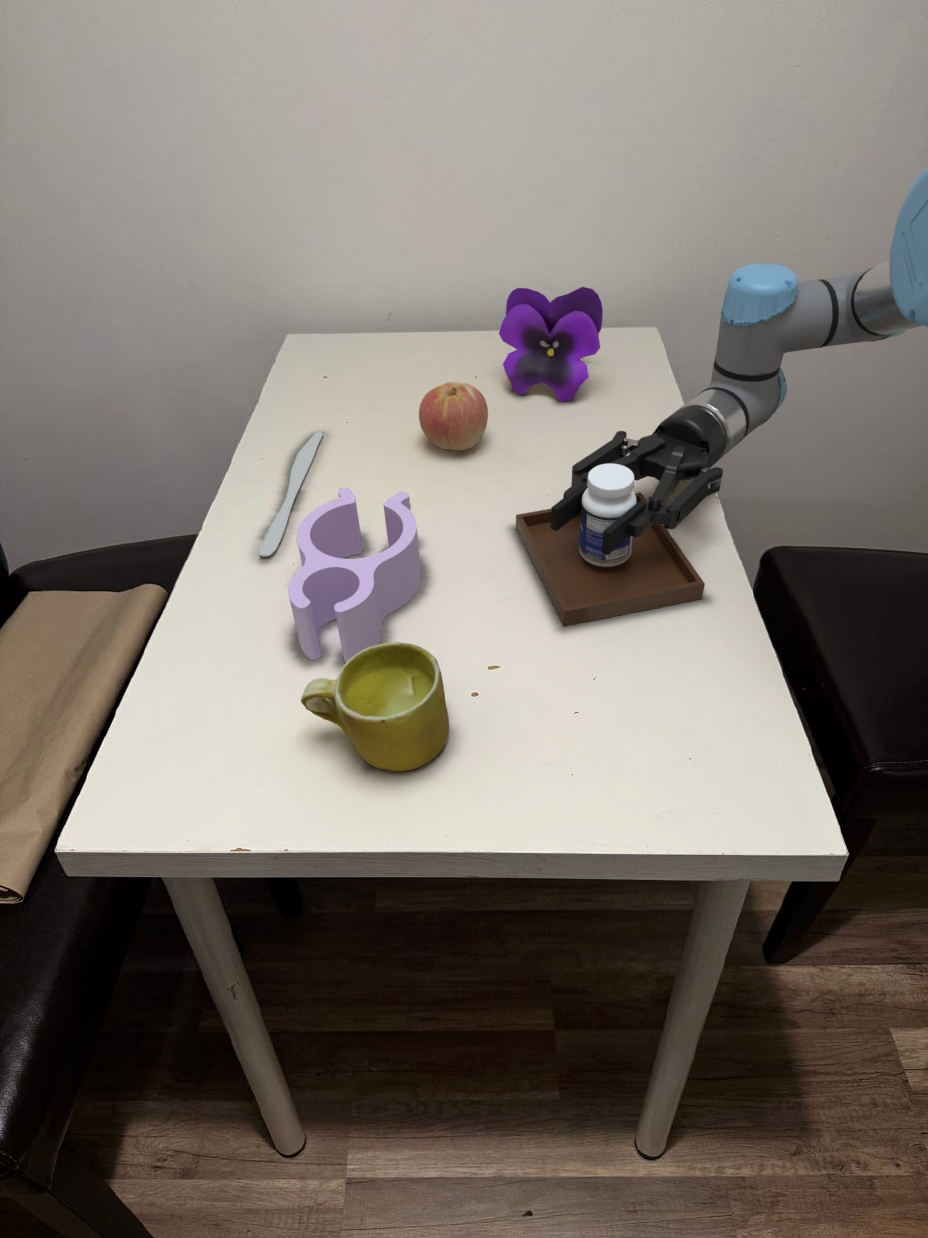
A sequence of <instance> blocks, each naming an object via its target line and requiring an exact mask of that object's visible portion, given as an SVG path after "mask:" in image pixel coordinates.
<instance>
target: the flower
mask: <svg viewBox="0 0 928 1238" xmlns="http://www.w3.org/2000/svg"><path fill="white" fill-rule="evenodd" d="M603 310H604V309H603V304H602V300H601V298H600V296H599V294H598V292H596V291H595V290H594V289H593V288H590V287H585V286H580V287H579V288H576V289H574V290H572V291H570V292H568V293H566V294H562V295H559V296H556V297H555V298H554V299H552V300H551V301H550V300H549V299H548V297H547V296H546V295H545V294H543V293H541V292H539V291H537V290H534V289H530V288H527V287H517V288H515V289H513V290H512V291H511V292H510V293H509V295H508V297H507V300H506V305H505V316H504V318H503V319H502V322H501V325H500V327H499V332H498V335H499V337H500V339H501V341H502V342H503V343H505V344H507V345H508V346H510V347H512V348H514V349H515V350H513V351H511V352H508V353H507V356H506V357H505V359H504V362H503V363H502V366H503V369H504V372H505V375H506V377H507V379H508V380H509V382H510V384H511V387H512V391H513V392H514V393H516V394H517V395H519V396H522V395H524V394H525V393H526V392H527V391H528V390H530V389H531V388H532V387H533V386H536V385H541V384H544V385H545V386H547V387H549V388H550V389H551V390H552V392H553V393H554V395H555V396H556V397H557V399H558V401H559V402H562V403H565V402H569V401H570V402H571V401H573V400H574V398H575V396H576V395H577V393H578V391H579V388H580V387H581V386H582V385H584V383H585V382H586V381H587V380H588V379H589V369H588V364H587V363H585V361H584V360H582V359H583V358H587V357H591V356H595V355H596V354H597V353H598V351H600V349H601V344H600V343H601V341H600V336H599V335H600V332H601V330H602V326H603V325H602V324H603V315H604V314H603Z"/></svg>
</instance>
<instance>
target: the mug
mask: <svg viewBox="0 0 928 1238" xmlns="http://www.w3.org/2000/svg"><path fill="white" fill-rule="evenodd" d="M438 662H439V661H438V659H437V658H436V657H435V656H434V655H433V654H432V653H431V652H430V651H428V650H427V649H425V648H423V647H421V646H419V645H416V644H414V643H409V642H401V641H391V642H384V643H379V645H375V646H371V647H368V648H366V649H363V650H362V651H360V652H359V653H357V654H355V655H354V656H353V657H351V658H350V659H349V660H348V661H347V662H346V663H345V662H344V665H343V666H342V667H341V669H340V671H339V673H338V674H337V678H335V679H329V678H325V677H322V678H321V677H320V678H319V677H318V678H314V679H312V680H311V681H309V682H308V684H307V685H306V687H305V688H304V691H303V692H302V695H301V698H300V703H301V704H302V705H303V706H304V708H305V709H306V710H307V711H309V712H311V713H312V714H313V715H315V716H317V717H319V718H321V719H322V720H325V721H329V722H330V723H333V724H335V725H337V726H338V727H340V728H341V729H342V731H343V732H344V733H345V734H346V735H347V736H348V737H347V738H349V739H350V740H351V741H352V743H353V745H354V748H355V750H356V751H357V752H358V754H359V755H360V756H361V758H362V759H363V760H364V761H365V763H367V764H369V765H371V766H372V767H374V768H377V769H380V770H387V771H391V772H392V771H393V772H406V771H411V770H416V769H418V768H420V767H423V766H425V765H427V764H428V763H429V762H430V761H433V759H434V758H435V757H436V756H437V755H439V753H440V752H441V751H442V750H443V749H444V747H445V745H446V743H447V741H448V738H449V734H450V718H449V712H448V707H447V701H446V695H445V686H444V681H443V675H442V671H441V668H440V665H439V663H438Z"/></svg>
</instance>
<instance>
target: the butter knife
mask: <svg viewBox="0 0 928 1238" xmlns="http://www.w3.org/2000/svg"><path fill="white" fill-rule="evenodd" d="M323 435H324V432H322V431H317V432H316V433H314V434H313V435H312V436H311V437H310V438H309V439H308V440H307V442H306V443H305V444H304V445H303V446H302V448H301V449H300V450H299V451H298V453H297V454H296V456H295V459H294V462H293V463H292V468H291V471H290V475H289V483H288V487H287V492H286V495H285V498H284V501H283V503H282V505H281V507H280V509H279V511H278V512H277V514H276V516H275V517H274V519H273V520H272V523H271V524H270V526H269V528H268V530H267V531H266V533H265V535H264V537H263V539H262V541H261V543H260V546H259V547H258V548H259V549H258V554H259V556H260V557H264V558H265V557H270V556H271V555H272V554H274V553H275V551H276V550H277V548H278V546H279V544H280V542H281V540H282V537H283V535H284V533H285V530H286V528H287V527H286V526H287V524H288V520H289V516H290V514H291V510H292V507H293V505H294V501H295V499H296V497H297V494H298V491H299V490H300V488H301V486H302V483H303V481H304V479H305V477H306V474H307V473H308V470H309V468H310V466H311V464H312V461H313V460H314V457H315V455H316V451H317V450H318V446H319V444H320V442H321V440H322V437H323Z"/></svg>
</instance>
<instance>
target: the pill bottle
mask: <svg viewBox="0 0 928 1238" xmlns="http://www.w3.org/2000/svg"><path fill="white" fill-rule="evenodd" d="M587 486H588V488H587V489H586V490H585V492H584V493H583V496H582V502H581V521H580V540H579V551H580V554H581V556H582V557H583V558H584V559H585V560H586V561H587V562H589V563H591V564H593V565H596V566H601V567H612V566H617V565H620V564H622V563H624V562H625V561H626V560H627V559H628V558H629V557H630V555H631V552H632V546H633V537H632V536H630V537H629V538H627V539H626V540H625V541H624V542H623V543H622V544H620V545H619V546H618V547H617V548H616V549H615V550H613V551H612V552H611V553H610V554H609V555H606V554H604V553H602V542H603V531H604V530H605V529H606V528H608V527H609V526H610V525H611V524H612V523H614V522H615V521H616V520H617V519H618V518H620V517H621V516H622V515H623V514H624V513H626V512H627V511H628V510H629V509H631V508H632V507H633V506H634V505H635V504H637V500H636V495H635V491H634V488H635V480H634V474H633V472H632V471H631V470H630V469H629V468H627V467H625V466H623V465H619V464H602V465H598V466H596V467H594V468H593V469H591V471H590V472H589V474H588V481H587Z"/></svg>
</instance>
